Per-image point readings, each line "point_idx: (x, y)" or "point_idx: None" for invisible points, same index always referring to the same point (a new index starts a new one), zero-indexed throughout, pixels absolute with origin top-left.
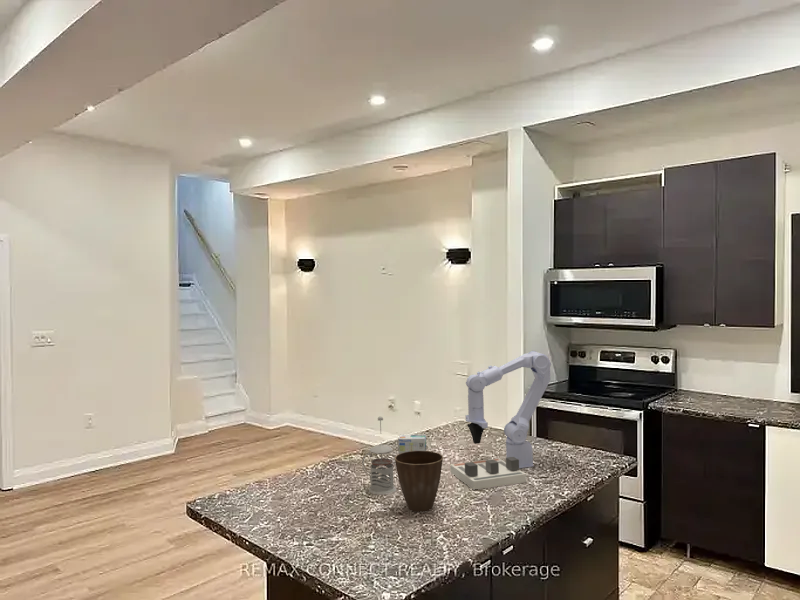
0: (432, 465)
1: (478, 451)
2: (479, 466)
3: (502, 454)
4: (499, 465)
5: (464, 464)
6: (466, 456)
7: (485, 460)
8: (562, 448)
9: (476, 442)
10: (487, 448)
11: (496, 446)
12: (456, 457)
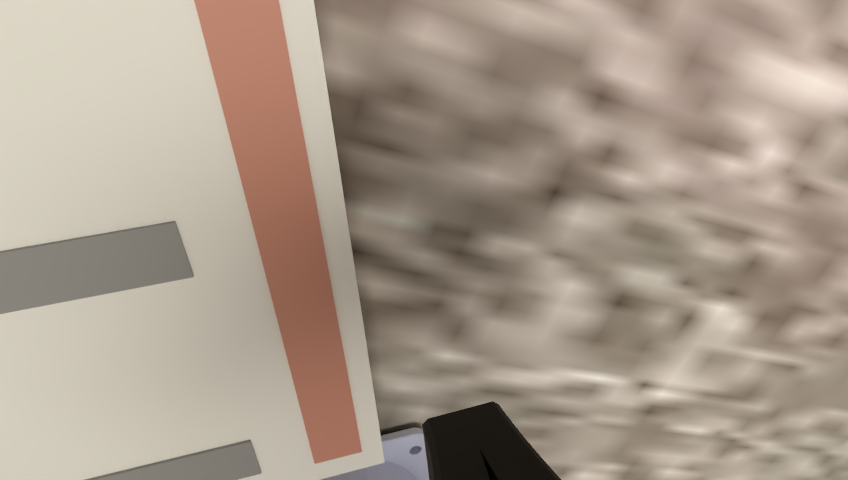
0: None
1: (809, 311)
2: (62, 224)
3: (639, 447)
4: (98, 446)
5: (200, 13)
6: (769, 188)
7: (334, 340)
8: None
9: (428, 462)
10: (818, 379)
11: (810, 433)
12: (809, 78)
